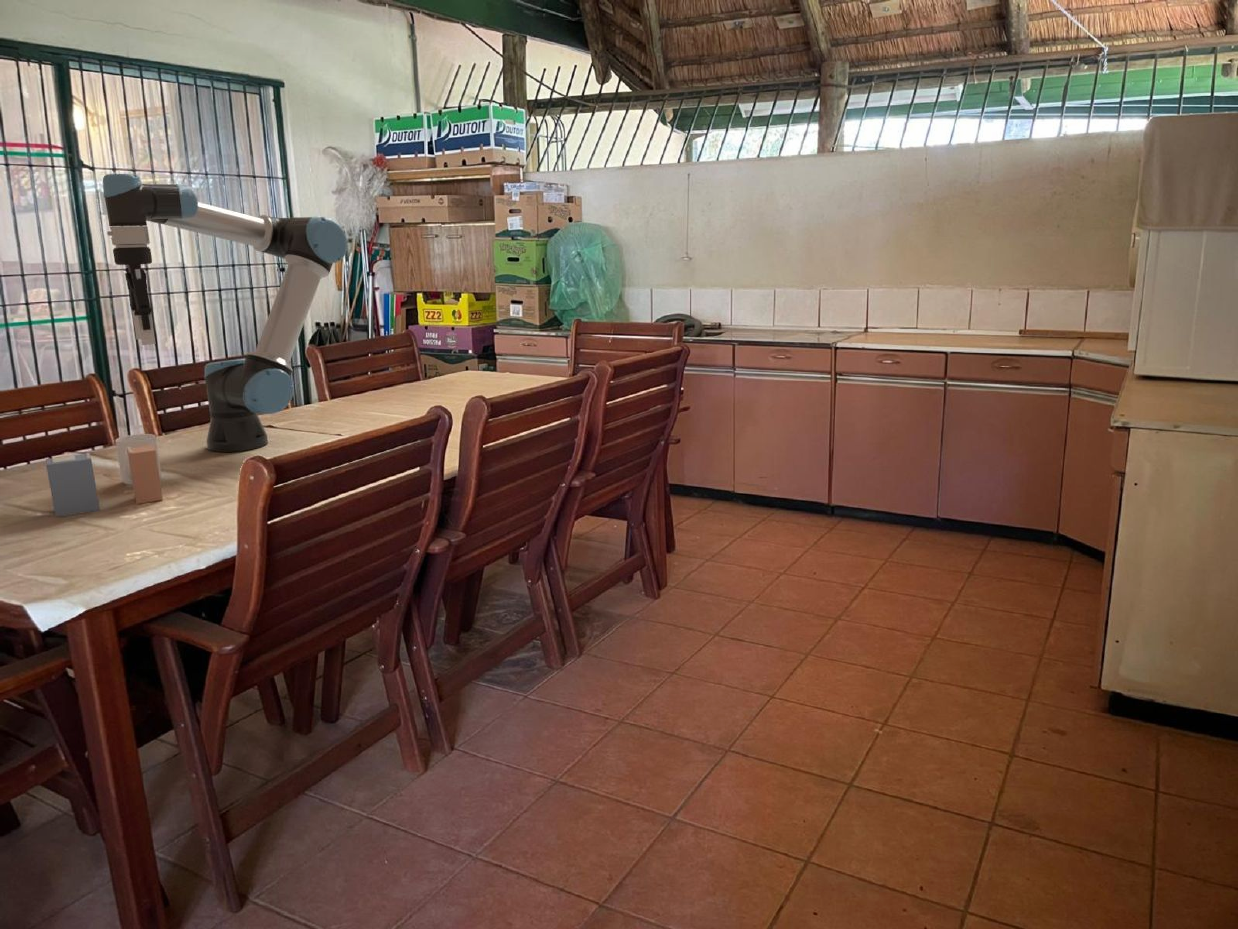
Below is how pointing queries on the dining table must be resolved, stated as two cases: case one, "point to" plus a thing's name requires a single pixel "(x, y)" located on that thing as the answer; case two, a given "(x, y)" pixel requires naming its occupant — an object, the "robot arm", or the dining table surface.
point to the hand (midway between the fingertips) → (145, 341)
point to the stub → (144, 474)
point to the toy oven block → (72, 484)
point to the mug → (132, 442)
